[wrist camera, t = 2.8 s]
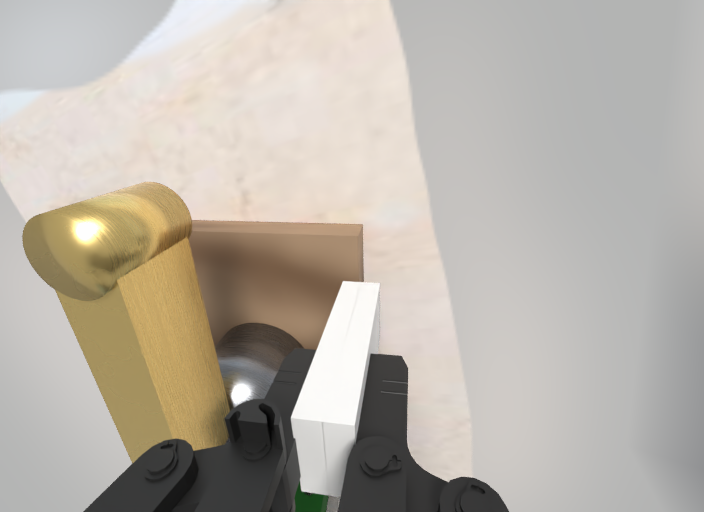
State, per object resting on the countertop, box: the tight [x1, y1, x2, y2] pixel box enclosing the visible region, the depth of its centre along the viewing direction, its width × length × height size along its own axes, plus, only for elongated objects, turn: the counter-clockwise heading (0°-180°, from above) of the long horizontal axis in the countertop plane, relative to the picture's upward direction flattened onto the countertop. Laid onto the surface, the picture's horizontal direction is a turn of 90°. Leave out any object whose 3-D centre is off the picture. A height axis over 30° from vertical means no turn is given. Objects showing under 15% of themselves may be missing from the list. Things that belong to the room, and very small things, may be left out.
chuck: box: [215, 323, 304, 411], centre depth 23 cm, size 13×7×6 cm, turn 2°
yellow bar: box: [23, 182, 230, 463], centre depth 15 cm, size 16×4×4 cm, turn 2°
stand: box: [188, 220, 364, 350], centre depth 25 cm, size 20×14×2 cm
